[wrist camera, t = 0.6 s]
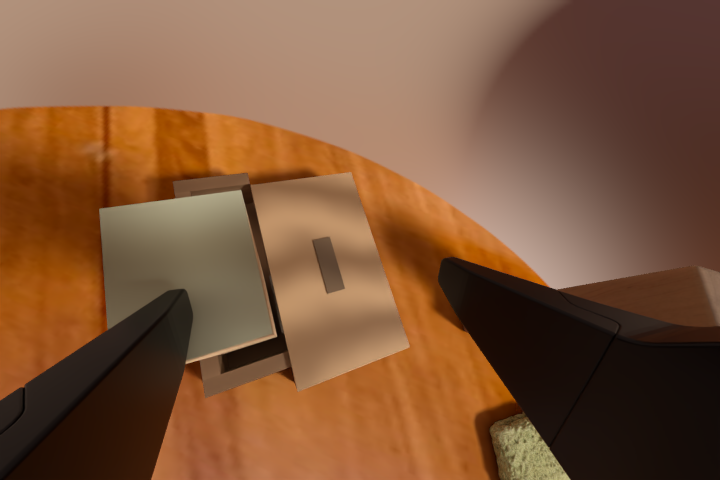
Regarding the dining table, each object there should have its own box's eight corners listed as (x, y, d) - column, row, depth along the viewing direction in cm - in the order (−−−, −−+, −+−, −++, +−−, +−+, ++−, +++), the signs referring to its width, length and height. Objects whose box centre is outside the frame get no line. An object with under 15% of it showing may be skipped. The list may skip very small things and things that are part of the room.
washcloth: (640, 522, 30) (679, 542, 27) (509, 576, 25) (540, 608, 22) (597, 388, 34) (627, 393, 31) (478, 412, 29) (500, 420, 26)
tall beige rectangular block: (277, 336, 25) (272, 333, 8) (231, 351, 24) (111, 383, 7) (265, 285, 27) (240, 189, 10) (221, 296, 25) (99, 208, 8)
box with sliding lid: (390, 345, 28) (410, 347, 24) (220, 411, 23) (206, 428, 18) (337, 181, 33) (346, 157, 29) (186, 202, 28) (169, 176, 23)
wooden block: (461, 332, 31) (664, 324, 15) (461, 292, 33) (643, 247, 16) (527, 343, 33) (773, 348, 16) (524, 306, 34) (744, 276, 18)
